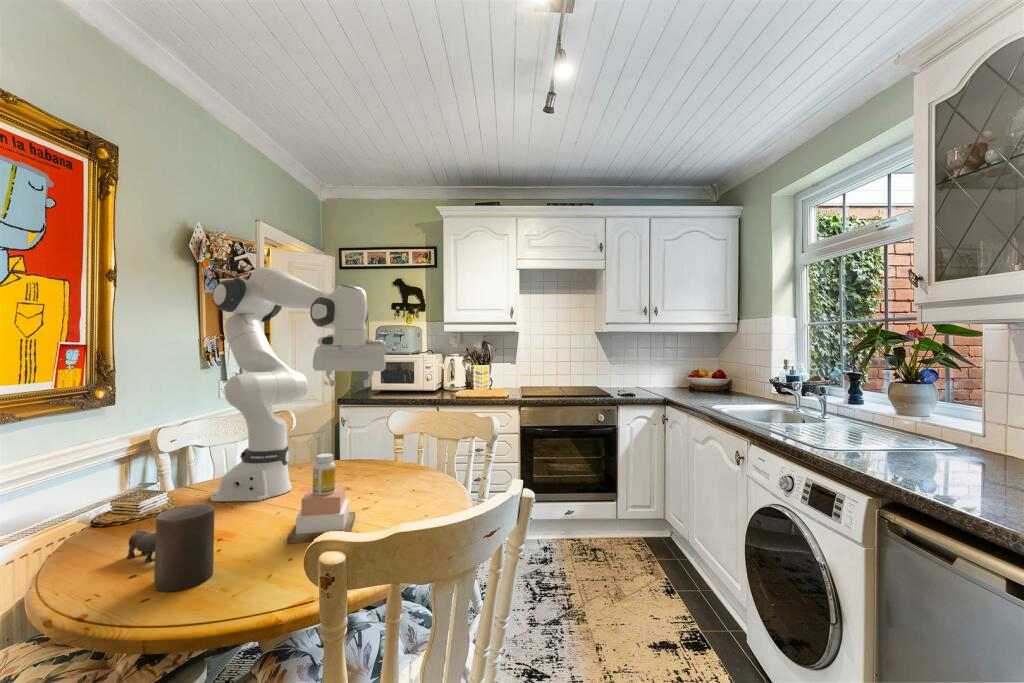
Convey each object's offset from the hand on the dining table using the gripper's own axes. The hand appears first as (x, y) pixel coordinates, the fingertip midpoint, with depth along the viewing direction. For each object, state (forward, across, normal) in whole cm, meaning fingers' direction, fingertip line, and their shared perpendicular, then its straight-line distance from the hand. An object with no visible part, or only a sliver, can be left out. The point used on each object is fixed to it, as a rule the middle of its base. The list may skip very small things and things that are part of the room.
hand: (349, 386), depth 132 cm
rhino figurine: (+36, +37, +25) cm, 57 cm away
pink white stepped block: (+34, +4, +16) cm, 38 cm away
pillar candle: (+36, +26, +36) cm, 57 cm away
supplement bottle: (+26, +4, +16) cm, 31 cm away
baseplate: (+35, +4, +16) cm, 39 cm away
